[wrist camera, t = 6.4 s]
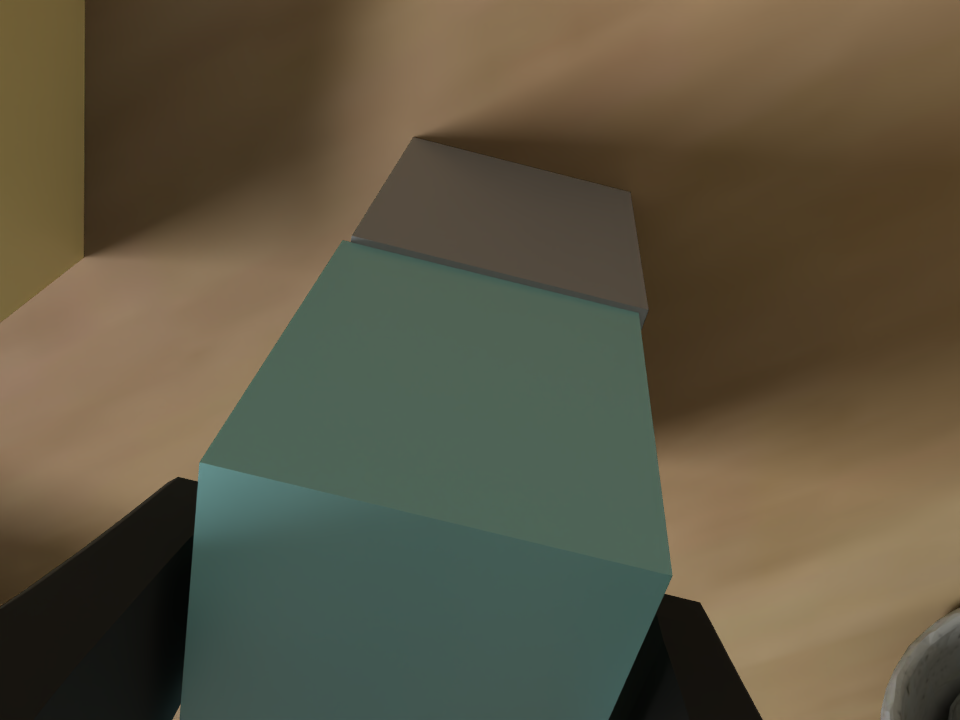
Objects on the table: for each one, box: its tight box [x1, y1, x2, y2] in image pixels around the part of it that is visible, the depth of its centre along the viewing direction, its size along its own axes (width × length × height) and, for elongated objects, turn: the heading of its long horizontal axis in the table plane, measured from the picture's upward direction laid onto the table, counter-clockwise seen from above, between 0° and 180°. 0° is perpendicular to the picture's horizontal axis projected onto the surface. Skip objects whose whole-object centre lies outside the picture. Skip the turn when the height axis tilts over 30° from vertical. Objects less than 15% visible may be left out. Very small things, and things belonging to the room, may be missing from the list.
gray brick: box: [351, 137, 648, 330], centre depth 15 cm, size 6×4×5 cm, turn 167°
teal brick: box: [180, 240, 672, 720], centre depth 11 cm, size 6×4×5 cm, turn 167°
